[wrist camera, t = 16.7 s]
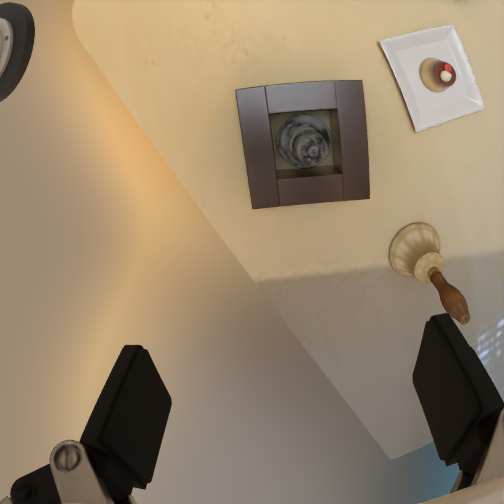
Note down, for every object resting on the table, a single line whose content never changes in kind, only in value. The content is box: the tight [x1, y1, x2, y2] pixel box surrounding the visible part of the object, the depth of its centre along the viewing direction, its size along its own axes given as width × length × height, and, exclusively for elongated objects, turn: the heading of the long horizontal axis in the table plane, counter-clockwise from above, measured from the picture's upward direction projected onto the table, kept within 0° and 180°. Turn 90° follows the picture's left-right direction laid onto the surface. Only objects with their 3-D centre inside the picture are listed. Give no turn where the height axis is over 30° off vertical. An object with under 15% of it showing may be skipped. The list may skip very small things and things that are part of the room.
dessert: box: [380, 24, 485, 132], centre depth 28 cm, size 12×12×5 cm
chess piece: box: [277, 115, 332, 168], centre depth 30 cm, size 6×6×12 cm
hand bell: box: [389, 223, 470, 325], centre depth 33 cm, size 8×8×16 cm
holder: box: [235, 80, 370, 209], centre depth 33 cm, size 13×13×5 cm
